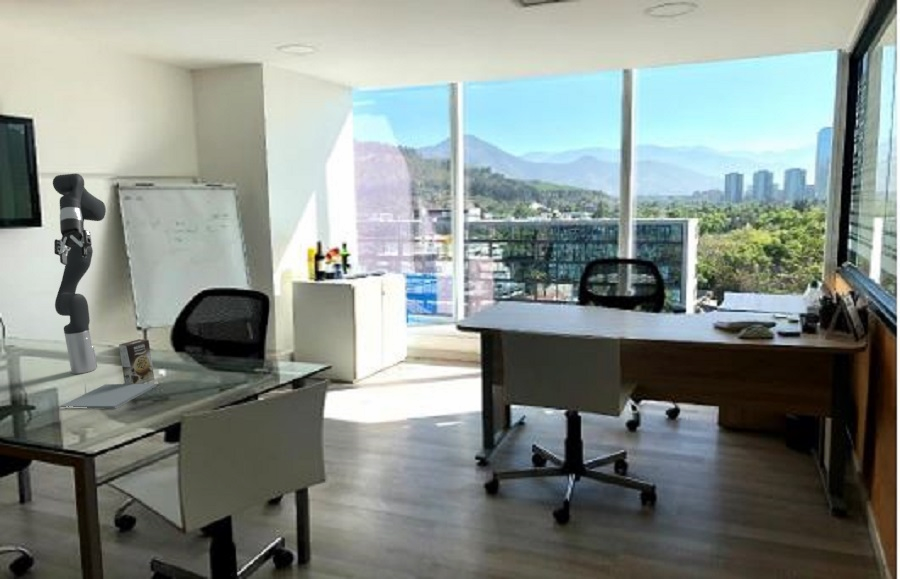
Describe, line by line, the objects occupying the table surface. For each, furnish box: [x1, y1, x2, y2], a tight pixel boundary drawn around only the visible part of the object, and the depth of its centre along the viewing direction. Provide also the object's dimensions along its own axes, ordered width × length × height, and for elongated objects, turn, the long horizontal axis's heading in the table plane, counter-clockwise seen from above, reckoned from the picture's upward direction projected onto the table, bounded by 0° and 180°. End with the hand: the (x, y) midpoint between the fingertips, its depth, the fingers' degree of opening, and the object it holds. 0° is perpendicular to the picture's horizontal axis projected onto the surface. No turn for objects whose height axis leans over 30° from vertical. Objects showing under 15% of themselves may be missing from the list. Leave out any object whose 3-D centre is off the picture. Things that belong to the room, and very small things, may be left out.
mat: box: [59, 383, 158, 410], centre depth 250 cm, size 24×22×1 cm
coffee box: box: [118, 338, 155, 384], centre depth 266 cm, size 9×6×16 cm
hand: (73, 260), depth 256 cm, fingers open, 8 cm apart
